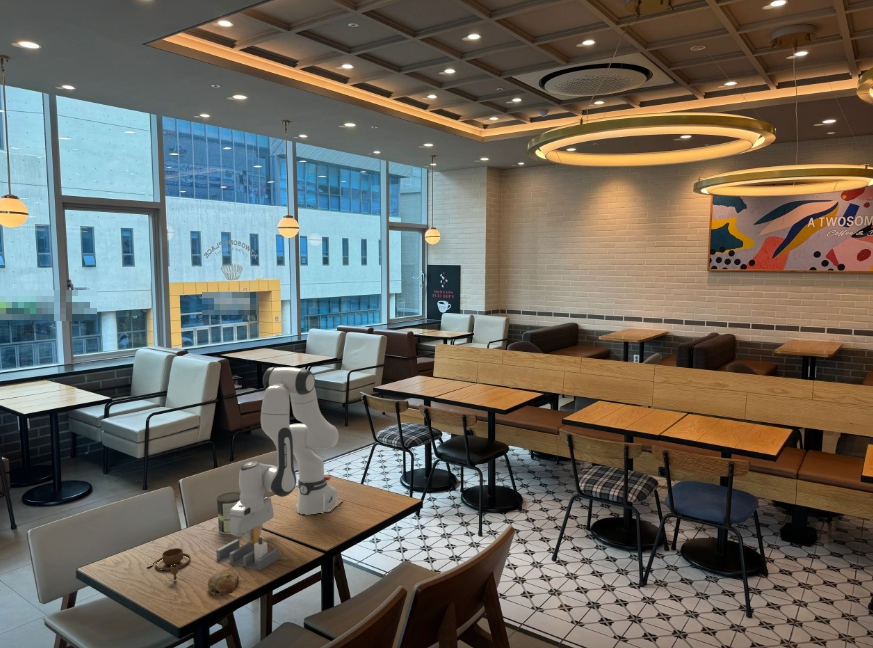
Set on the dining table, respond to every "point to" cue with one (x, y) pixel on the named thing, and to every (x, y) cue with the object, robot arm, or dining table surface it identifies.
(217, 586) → the bread roll
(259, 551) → the white plug
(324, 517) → the dining table surface
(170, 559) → the place setting
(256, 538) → the orange plug
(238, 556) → the rack
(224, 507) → the coffee can
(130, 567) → the dining table surface
